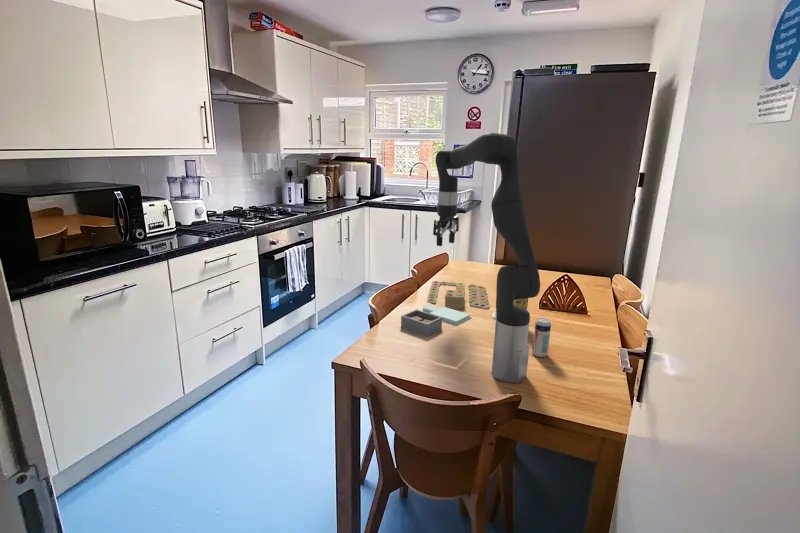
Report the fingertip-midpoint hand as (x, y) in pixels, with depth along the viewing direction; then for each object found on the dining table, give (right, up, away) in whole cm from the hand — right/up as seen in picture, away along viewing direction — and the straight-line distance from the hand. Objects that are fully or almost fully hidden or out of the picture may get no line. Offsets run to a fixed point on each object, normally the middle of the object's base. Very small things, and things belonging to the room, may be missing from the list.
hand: (445, 244), depth 165 cm
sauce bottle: (+26, -32, -7) cm, 42 cm away
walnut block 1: (-12, -31, -10) cm, 35 cm away
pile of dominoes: (+9, -23, +28) cm, 37 cm away
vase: (+23, -29, +1) cm, 37 cm away
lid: (0, -29, +1) cm, 29 cm away
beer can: (+27, -38, -29) cm, 55 cm away
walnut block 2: (-8, -32, -13) cm, 35 cm away
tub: (-10, -32, -11) cm, 35 cm away
